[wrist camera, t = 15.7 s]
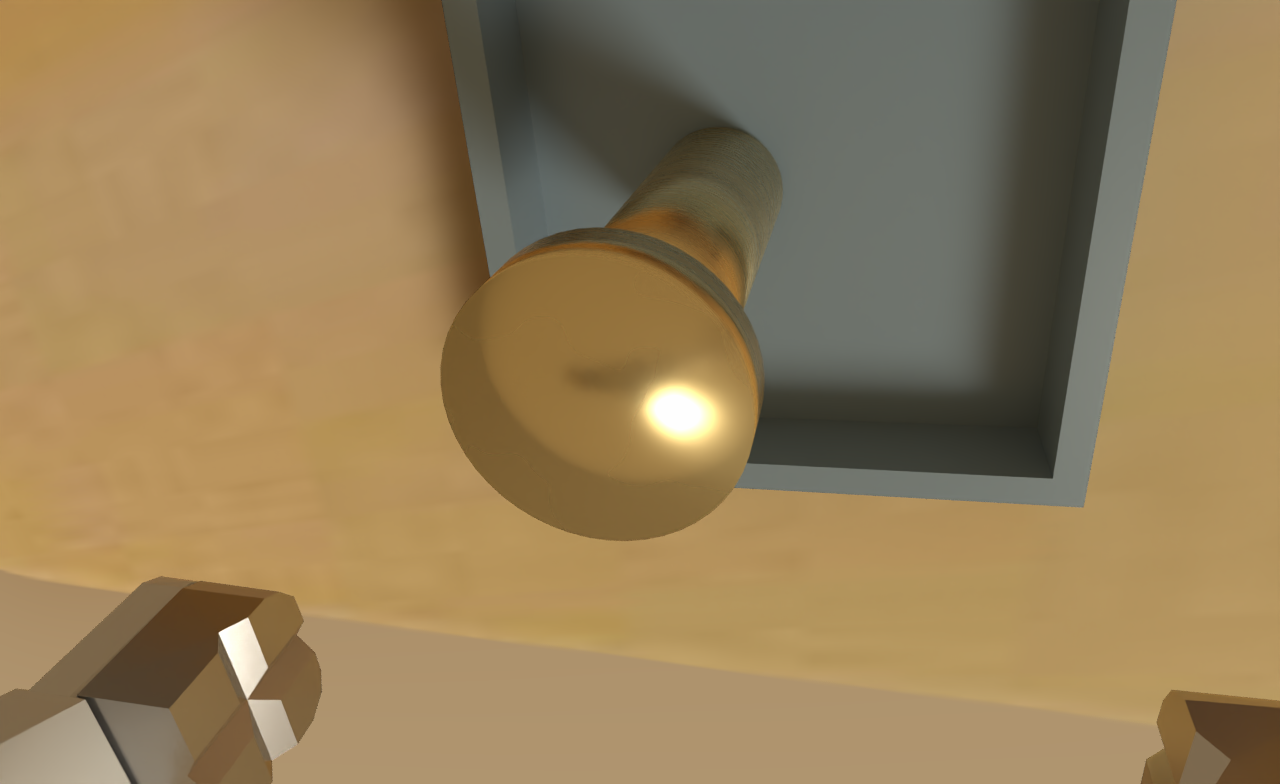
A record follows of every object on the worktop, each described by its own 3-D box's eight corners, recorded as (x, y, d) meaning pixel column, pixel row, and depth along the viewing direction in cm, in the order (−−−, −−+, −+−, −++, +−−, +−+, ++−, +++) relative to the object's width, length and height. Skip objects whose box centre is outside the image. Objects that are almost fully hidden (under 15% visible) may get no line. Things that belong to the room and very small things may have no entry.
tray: (1163, -186, 18) (1212, -196, 15) (1061, 442, 25) (1083, 507, 22) (475, -113, 21) (422, -112, 19) (556, 422, 28) (524, 475, 26)
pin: (816, 88, 21) (749, 257, 12) (815, 280, 23) (757, 553, 14) (619, 96, 22) (411, 255, 13) (635, 278, 24) (469, 527, 15)
